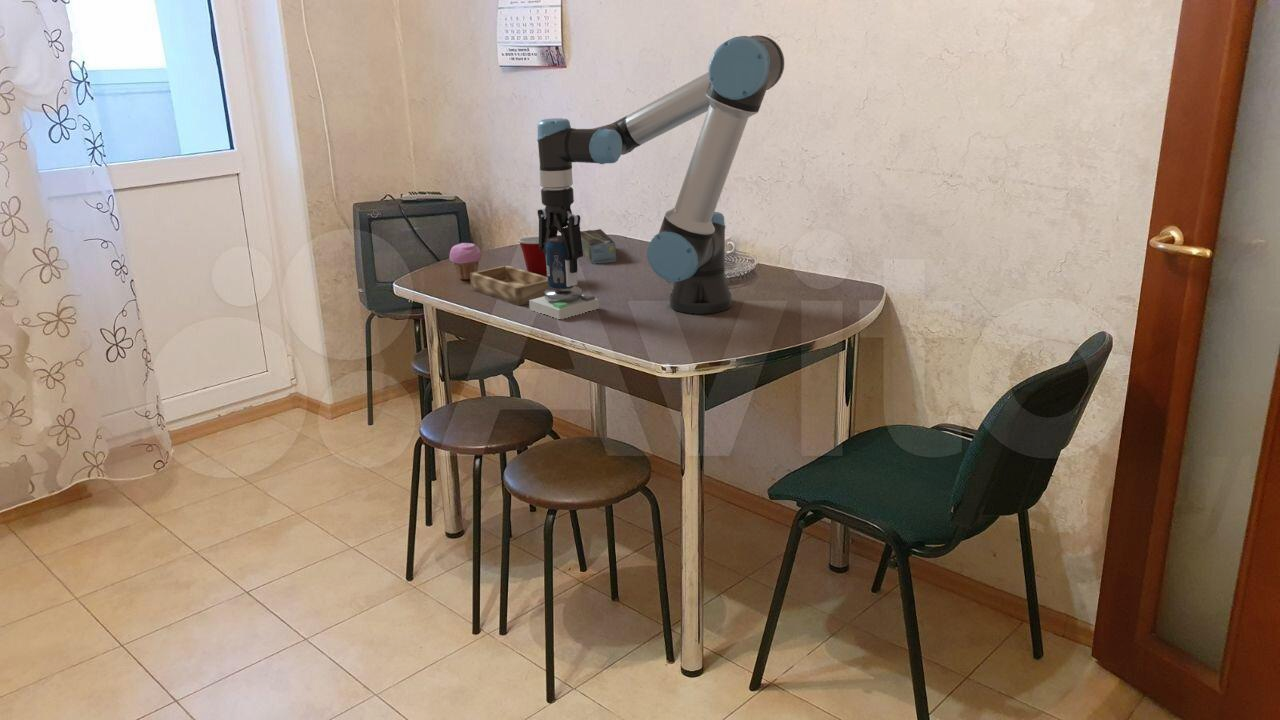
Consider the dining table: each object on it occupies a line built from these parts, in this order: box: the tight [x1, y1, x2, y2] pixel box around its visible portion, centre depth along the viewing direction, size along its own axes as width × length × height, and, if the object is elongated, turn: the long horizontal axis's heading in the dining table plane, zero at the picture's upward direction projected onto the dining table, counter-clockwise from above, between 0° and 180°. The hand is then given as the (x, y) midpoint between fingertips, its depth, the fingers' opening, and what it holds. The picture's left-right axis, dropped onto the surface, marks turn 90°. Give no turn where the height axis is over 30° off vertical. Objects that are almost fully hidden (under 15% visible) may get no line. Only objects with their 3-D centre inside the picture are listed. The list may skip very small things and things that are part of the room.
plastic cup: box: [517, 236, 547, 277], centre depth 252 cm, size 11×11×12 cm
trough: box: [469, 264, 551, 307], centre depth 243 cm, size 22×12×4 cm, turn 42°
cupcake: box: [449, 242, 482, 281], centre depth 257 cm, size 9×9×10 cm
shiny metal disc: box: [545, 285, 583, 302], centre depth 227 cm, size 9×9×2 cm
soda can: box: [546, 234, 575, 290], centre depth 224 cm, size 7×7×12 cm
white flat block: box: [528, 293, 600, 320], centre depth 227 cm, size 12×12×3 cm
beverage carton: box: [580, 228, 617, 265], centre depth 278 cm, size 8×19×7 cm, turn 15°
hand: (562, 282), depth 226 cm, fingers closed on soda can, 7 cm apart
